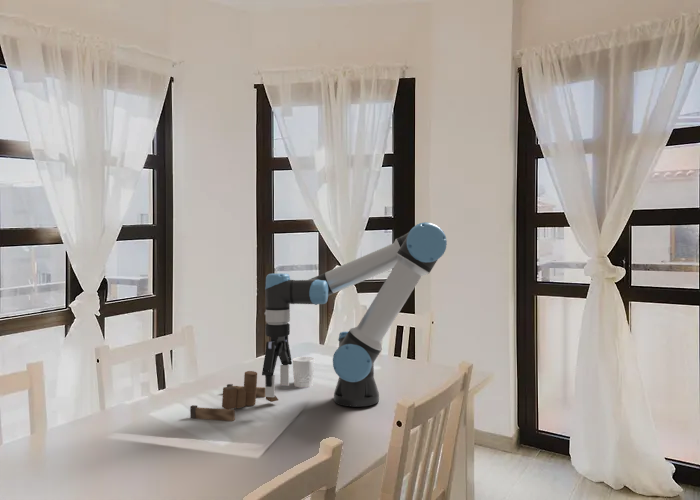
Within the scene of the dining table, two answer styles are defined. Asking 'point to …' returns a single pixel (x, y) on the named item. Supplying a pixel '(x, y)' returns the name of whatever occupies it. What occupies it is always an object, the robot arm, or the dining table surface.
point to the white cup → (303, 371)
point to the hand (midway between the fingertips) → (277, 390)
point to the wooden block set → (242, 393)
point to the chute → (219, 413)
